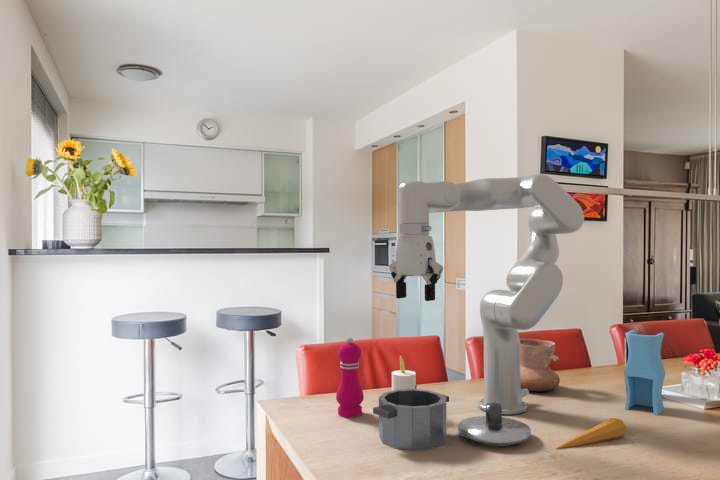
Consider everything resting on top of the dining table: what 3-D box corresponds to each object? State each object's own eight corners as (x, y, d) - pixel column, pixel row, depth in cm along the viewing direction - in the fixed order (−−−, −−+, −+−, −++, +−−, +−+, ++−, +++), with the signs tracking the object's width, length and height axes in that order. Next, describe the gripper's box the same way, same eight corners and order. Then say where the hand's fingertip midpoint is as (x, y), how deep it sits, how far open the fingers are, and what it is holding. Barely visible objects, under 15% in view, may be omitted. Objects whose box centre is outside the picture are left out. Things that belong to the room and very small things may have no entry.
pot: (419, 420, 133) (418, 384, 133) (465, 436, 122) (465, 396, 122) (359, 438, 121) (358, 398, 121) (404, 458, 109) (404, 414, 109)
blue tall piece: (665, 408, 141) (664, 332, 142) (657, 415, 136) (656, 336, 136) (633, 402, 147) (632, 330, 147) (624, 409, 141) (623, 333, 141)
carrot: (617, 436, 123) (610, 417, 125) (633, 435, 119) (624, 414, 121) (552, 460, 115) (544, 438, 116) (566, 459, 111) (558, 437, 113)
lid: (486, 421, 132) (486, 391, 132) (545, 439, 120) (544, 406, 120) (443, 436, 122) (443, 404, 122) (502, 457, 110) (502, 421, 110)
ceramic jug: (573, 391, 159) (573, 343, 159) (540, 398, 151) (540, 348, 151) (526, 378, 174) (526, 335, 174) (494, 385, 167) (493, 339, 167)
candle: (415, 417, 135) (415, 358, 135) (390, 416, 137) (389, 357, 137) (418, 410, 141) (417, 353, 142) (393, 409, 143) (393, 352, 143)
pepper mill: (360, 418, 135) (360, 339, 135) (333, 417, 136) (332, 339, 136) (366, 410, 142) (365, 335, 142) (339, 408, 143) (339, 334, 143)
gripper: (450, 230, 130) (452, 300, 130) (399, 232, 143) (400, 296, 143) (430, 229, 125) (431, 302, 125) (379, 232, 138) (380, 298, 138)
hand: (415, 299), depth 134 cm, fingers open, 9 cm apart
